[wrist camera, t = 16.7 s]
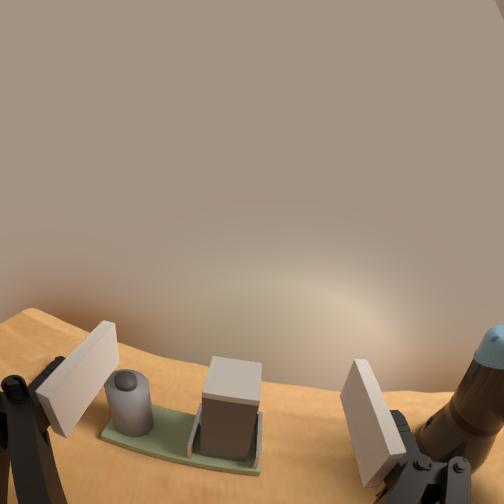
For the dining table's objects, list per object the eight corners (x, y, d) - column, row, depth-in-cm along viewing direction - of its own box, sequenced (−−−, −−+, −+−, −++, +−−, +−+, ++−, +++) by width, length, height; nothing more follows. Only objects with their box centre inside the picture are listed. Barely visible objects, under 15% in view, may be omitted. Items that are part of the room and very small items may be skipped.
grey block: (249, 426, 37) (261, 362, 34) (245, 462, 31) (259, 400, 27) (208, 421, 37) (212, 355, 34) (200, 455, 31) (202, 392, 27)
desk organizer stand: (261, 429, 38) (272, 383, 35) (259, 475, 29) (272, 434, 27) (124, 401, 39) (115, 352, 36) (102, 440, 30) (86, 391, 27)
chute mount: (259, 424, 38) (262, 412, 37) (256, 468, 30) (260, 457, 29) (199, 415, 38) (199, 402, 37) (187, 458, 30) (187, 446, 29)
